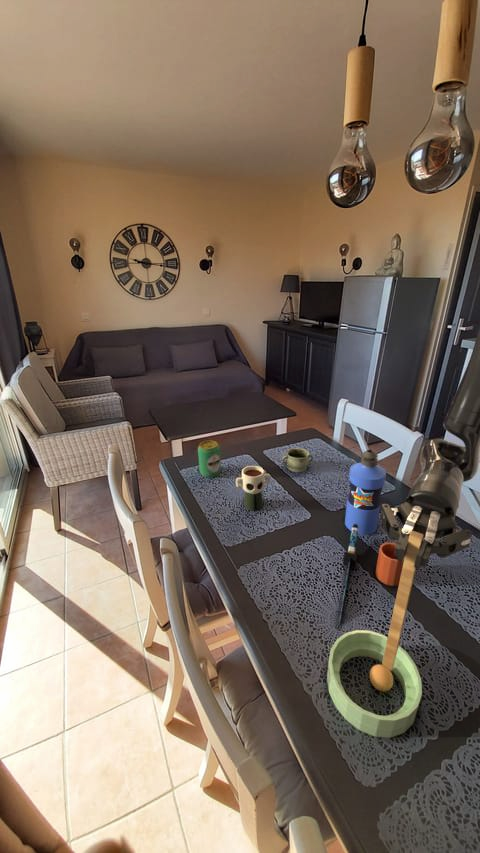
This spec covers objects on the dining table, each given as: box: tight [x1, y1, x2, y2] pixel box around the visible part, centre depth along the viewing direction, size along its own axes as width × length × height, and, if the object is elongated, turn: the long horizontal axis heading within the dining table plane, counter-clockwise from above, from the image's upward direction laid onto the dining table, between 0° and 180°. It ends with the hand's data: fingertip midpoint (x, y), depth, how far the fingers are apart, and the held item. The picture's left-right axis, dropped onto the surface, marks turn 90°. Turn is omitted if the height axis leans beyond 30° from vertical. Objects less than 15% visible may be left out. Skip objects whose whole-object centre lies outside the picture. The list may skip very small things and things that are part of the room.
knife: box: [338, 524, 359, 626], centre depth 88 cm, size 31×3×4 cm, turn 155°
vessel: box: [281, 447, 314, 473], centre depth 138 cm, size 12×9×6 cm
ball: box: [369, 664, 394, 692], centre depth 65 cm, size 4×4×4 cm
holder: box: [375, 541, 405, 587], centre depth 86 cm, size 6×6×9 cm
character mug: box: [235, 465, 271, 511], centre depth 115 cm, size 11×7×13 cm, turn 101°
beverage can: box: [197, 440, 222, 479], centre depth 134 cm, size 8×8×12 cm
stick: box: [381, 531, 424, 672], centre depth 55 cm, size 2×2×24 cm
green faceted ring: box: [326, 629, 423, 738], centre depth 64 cm, size 15×15×6 cm
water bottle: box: [344, 449, 387, 536], centre depth 102 cm, size 9×9×25 cm
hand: (409, 559), depth 49 cm, fingers closed on stick, 1 cm apart
